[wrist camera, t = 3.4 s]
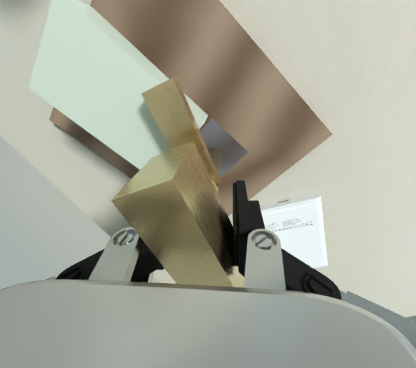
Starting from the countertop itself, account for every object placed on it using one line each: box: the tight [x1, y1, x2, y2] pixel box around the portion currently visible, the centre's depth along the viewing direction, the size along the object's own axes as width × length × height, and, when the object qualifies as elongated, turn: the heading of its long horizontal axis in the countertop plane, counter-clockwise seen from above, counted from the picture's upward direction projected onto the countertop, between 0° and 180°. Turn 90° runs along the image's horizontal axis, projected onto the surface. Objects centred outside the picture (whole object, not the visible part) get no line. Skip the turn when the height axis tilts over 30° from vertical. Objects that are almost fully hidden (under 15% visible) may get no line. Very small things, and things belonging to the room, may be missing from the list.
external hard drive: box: [260, 193, 327, 268], centre depth 25 cm, size 2×8×12 cm
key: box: [111, 78, 245, 287], centre depth 13 cm, size 11×2×13 cm, turn 22°
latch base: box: [49, 0, 332, 216], centre depth 17 cm, size 22×18×4 cm
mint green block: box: [28, 0, 208, 170], centre depth 13 cm, size 10×6×3 cm, turn 49°
